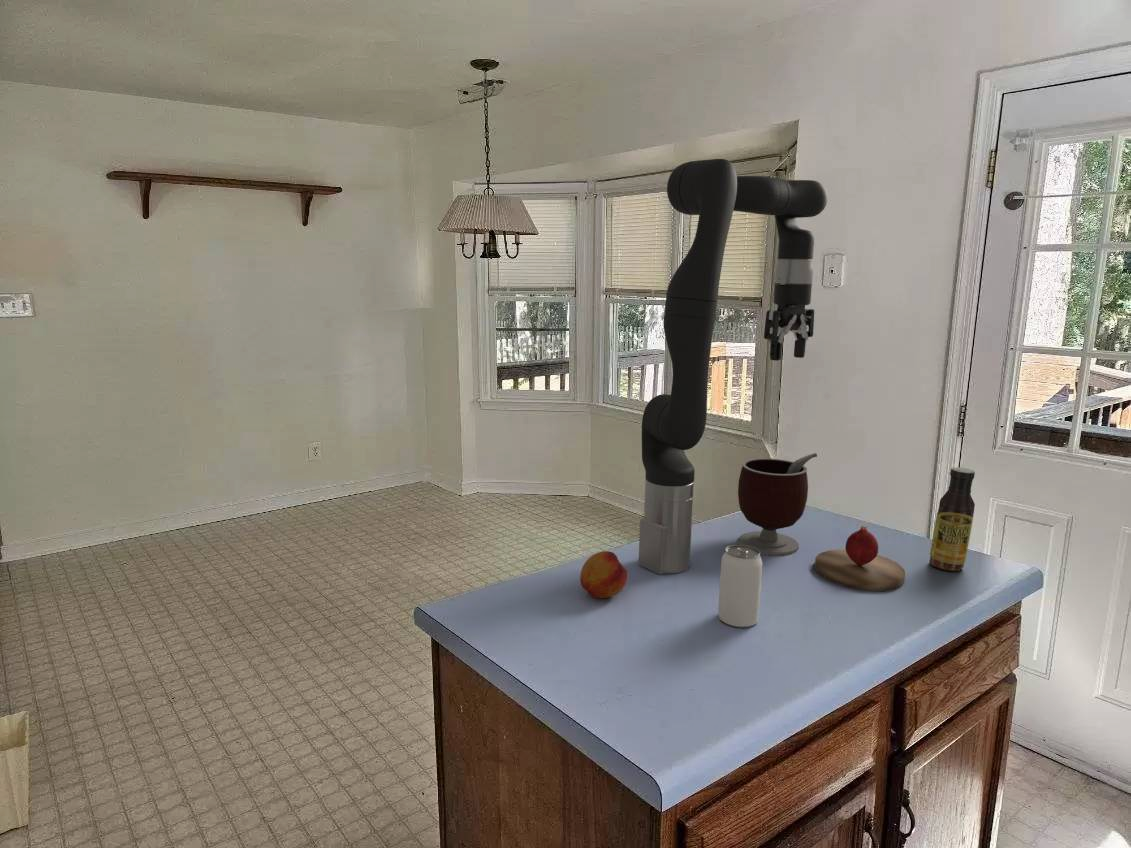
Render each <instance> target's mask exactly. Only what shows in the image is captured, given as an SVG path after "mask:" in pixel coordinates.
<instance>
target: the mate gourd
mask: <svg viewBox="0 0 1131 848" xmlns="http://www.w3.org/2000/svg"><path fill="white" fill-rule="evenodd" d="M817 457H818V455H817V452H813V453H810V454H807V455H804V456H803V457H799V458H798V459H796V460H795V461H793V460H792V461H791V460H786V459H780V458H766V457H764V458H763V457H762V458H751V459H747V460H745V461H743V462H742V466H741V469H740V474H739V478H738V488H737V497H738V506H739V509H740V511H741V513H742V515H743V516H744V517H745V519H746V520H747V522H749V523H750V524H753V525H755V526H758V527H760V528H762V530H761V531H759V530H758V531H757V530H755V531H747V532H745V533H742V534H740V535H739V537H738V545H747V546H751V547H754V548H756V549H758V550H759V551H760V555H767V556H776V557H777V556H779V557H780V555H781V556H789V555H793V554H795V553H797V552H798V551H797V550H799V549H798V548H799V547H800V544H799V542H798V540H796V539H795V538H793V537H791V536H789V535H786V534H783V533H778V532H777V530H781V529H784V528H790V527H792V526H794V525H795V524H796V523H797V522H798V521H799V520H800V518H802V516H803V515H804V511H805V509H806V505H807V502H808V501H807V500H808V494H809V483H808V482H809V481H808V473H807V472H808V469H807V467H806V466H805V465H806V463H808V462H809V461H810V460H811V459H813V458H817ZM796 551H797V552H796ZM794 552H795V553H794ZM792 553H793V554H792Z"/></svg>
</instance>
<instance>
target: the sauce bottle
mask: <svg viewBox="0 0 1131 848" xmlns="http://www.w3.org/2000/svg"><path fill="white" fill-rule="evenodd" d="M949 475H950V479H949V486H948V488H947V489H948V490H947V491H946V492H945V493H944V494H943V495H942V497H941V498H940V500H939V505H938V508H937V509H938V510H937V513H936V516H935V517H936V518H935V522H934V527H933V533H932V541H931V546H930V553H929V563H930V565H931V566H933V567H935V568H937V569H940V570H943V571H947V572H960V571H961V570H962V569H963V568H964V566H965V563H966V559H967V554H968V549H969V543H970V538H971V533H972V526H973V521H974V513H975V506H976V504H975V501H974V499H973V497H972V494H971V493H972V485H973V481H974V479H975V475H976V473H975V470H972V469H969V468H966V467H959V466H955V467H952V468H951V469H950V473H949Z"/></svg>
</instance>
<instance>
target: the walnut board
mask: <svg viewBox="0 0 1131 848" xmlns="http://www.w3.org/2000/svg"><path fill="white" fill-rule="evenodd" d="M814 569H815V572H816V573H817V574H819V576H820V577H822V578H824V579H825V580H827V581H830V582H831V583H833V584H836V585H839V586H843V587H845V588H850V589H851V588H852V589H855V590H861V591H869V592H870V591H871V592H875V591H876V592H880V591H881V592H882V591H883V592H885V591H891V590H895V589H898V588H900V587H901V586H903V585H904V583H905V578H906V571H905V569H904V567H903V566H901V565H900V564H899V563H898V562H896V561H894V560H892V559H890V558H887V557H886V556H883V555H879V554H877V556H876V557H875V558H874V560H872V561H871V562H869V563H867V564H865V565H863V566H858V565H857V564H856V563H854V562H853V561H852V560H851V559H850V558H849V556H848V555H847V553H846V549H832V550H826V551H823V552H820V553H818V554H817V555H815V561H814Z"/></svg>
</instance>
